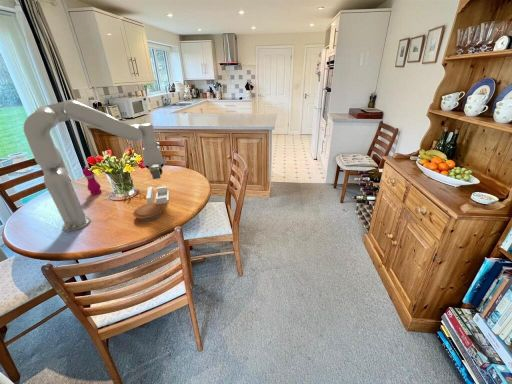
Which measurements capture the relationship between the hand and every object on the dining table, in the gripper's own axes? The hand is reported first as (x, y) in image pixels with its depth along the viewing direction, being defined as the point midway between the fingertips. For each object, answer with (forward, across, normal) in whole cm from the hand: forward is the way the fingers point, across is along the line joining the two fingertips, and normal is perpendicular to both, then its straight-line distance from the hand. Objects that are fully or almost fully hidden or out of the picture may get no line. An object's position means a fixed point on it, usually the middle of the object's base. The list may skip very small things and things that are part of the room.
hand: (157, 174), depth 145 cm
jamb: (+16, +2, 0) cm, 17 cm away
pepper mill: (+17, +43, -23) cm, 52 cm away
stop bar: (+1, 0, 0) cm, 1 cm away
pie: (+17, +6, +20) cm, 27 cm away
